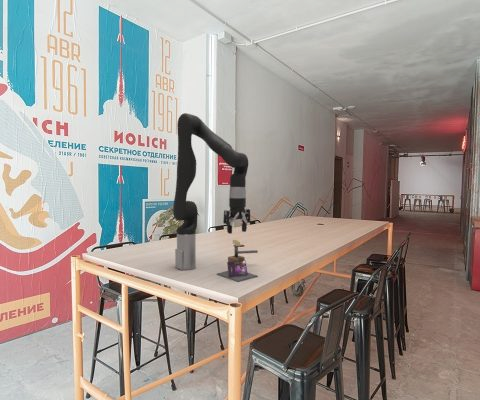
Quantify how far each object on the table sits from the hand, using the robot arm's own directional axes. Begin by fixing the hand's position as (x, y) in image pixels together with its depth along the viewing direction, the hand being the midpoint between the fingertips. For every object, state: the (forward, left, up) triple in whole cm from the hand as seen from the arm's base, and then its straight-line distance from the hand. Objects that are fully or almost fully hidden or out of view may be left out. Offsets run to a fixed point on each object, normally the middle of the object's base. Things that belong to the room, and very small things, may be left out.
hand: (237, 232), depth 147 cm
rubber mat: (0, 0, -20) cm, 20 cm away
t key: (+14, +10, -15) cm, 23 cm away
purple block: (-1, -1, -20) cm, 20 cm away
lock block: (+10, +12, -20) cm, 25 cm away
